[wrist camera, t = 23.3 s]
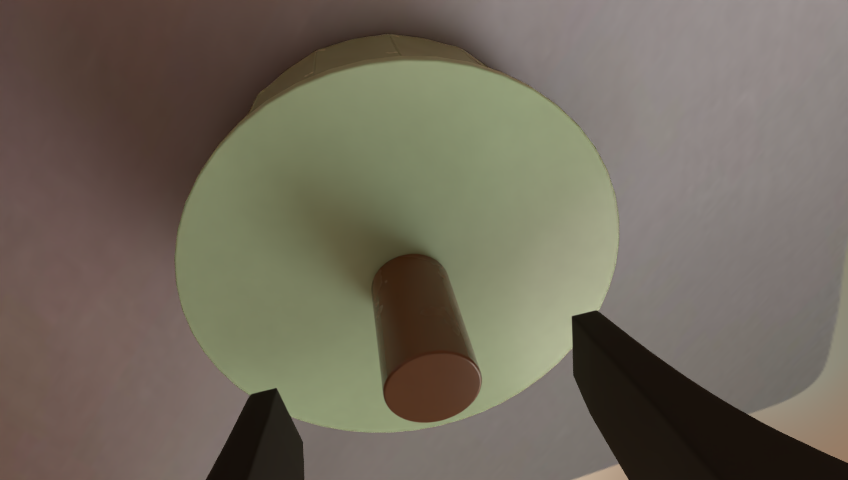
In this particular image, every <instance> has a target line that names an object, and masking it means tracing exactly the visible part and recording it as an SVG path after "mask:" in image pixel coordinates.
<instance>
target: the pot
mask: <svg viewBox="0 0 848 480" xmlns="http://www.w3.org/2000/svg"><path fill="white" fill-rule="evenodd" d="M394 56H436V57H442V58H448V59H455V60H461V61H467V62H471V63H475V64H478V65H481V66H484V67H487V66H486V65H485V64H483V63H482V62H480V61H479V60H477V59H476V58H474V57H473V56H472V55H470V54H469V53H467V52H466V51H465V50H463V49H462V48H459V47H457V46H452V45H447V44H444V43H440V42H436V41H432V40H429V39H425V38H419V37H411V36H403V35H395V34H383V35H377V36H369V37H363V38H357V39H351V40H348V41H345V42H341V43H338V44H335V45H331V46H328V47H326V48H323V49H318V50H316V51H314V52H313V53H311V54H310V55H309V56H307V57H305V58H304V59H302V60H301V61H299V62H298V63H296V64H295V65H293V66H292V67H290V68H289V69H287V70H286V71H285V72H284V73H283V74H281V75H280V76H279V77H278V78H277V79H276V80H275V81H273V82H272V83H271V84H270V85H269V86H268V87H266V88H265V89H264V90H262V91H261V92H260V93H259V95H257V97H256V98H255V100H254V102H253V104H252V106H251V108H250V110H249V112H248V114H247V116H248V115H249V114H250V113H251V112H253V111H254V110H255V109H256V108H258V107H259V106H260V105H261V104H263V103H264V102H265V101H266V100H268V99H270V98H271V97H273V96H275V95H277V94H278V93H280V92H282V91H283V90H285V89H287V88H289V87H290V86H292V85H294V84H295V83H297V82H299V81H302V80H304V79H307V78H309V77H312V76H314V75H317V74H319V73H321V72H324V71H326V70H329V69H332V68H336V67H339V66H343V65H347V64H351V63H355V62H359V61H363V60H368V59H377V58H385V57H394ZM487 68H488V67H487Z"/></svg>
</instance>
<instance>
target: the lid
mask: <svg viewBox="0 0 848 480" xmlns="http://www.w3.org/2000/svg"><path fill="white" fill-rule="evenodd" d="M618 246H619V215H618V209H617V203H616V197H615V192H614V189H613V186H612V183H611V180H610V177H609V174H608V171H607V169H606V167H605V165H604V163H603V161H602V159H601V157H600V155H599V154H598V152H597V150H596V148H595V146H594V145H593V144H592V142H591V141H590V140H589V138H588V137H587V136H586V135H585V133H584V132H583V131H582V129H581V128H580V127H579V125H578V124H577V123H575V122H574V121H573V120H572V119H571V118H570V117H569V116H568V115H567V114H566V113H565V112H564V111H563V110H562V109H561V108H560V107H559V106H557V105H556V104H555V103H554V102H552V101H551V100H550V99H548V98H547V97H545V96H544V95H542V94H541V93H539V92H538V91H536V90H535V89H533V88H532V87H531V86H529V85H527V84H525V83H523V82H521V81H519V80H517V79H515V78H513V77H511V76H509V75H507V74H504V73H502V72H500V71H497V70H494V69H491V68H487V67H484V66H481V65H478V64H475V63H471V62H467V61H461V60H455V59H448V58H442V57H436V56H394V57H385V58H377V59H368V60H363V61H359V62H355V63H351V64H347V65H343V66H339V67H336V68H332V69H329V70H326V71H324V72H321V73H319V74H317V75H314V76H312V77H309V78H307V79H304V80H302V81H299V82H297V83H295V84H294V85H292V86H290V87H289V88H287V89H285V90H283V91H282V92H280V93H278V94H277V95H275V96H273V97H271V98H270V99H268V100H266V101H265V102H264V103H263V104H261V105H260V106H259V107H258V108H256V109H255V110H254V111H253V112H251V113H250V114H249V115H248V116H246V117H245V118H244V119H243V120H241V121H240V122H239V123H238V124H237V125H236V126H235V128H234V129H233V130H232V131H231V132H230V133H229V134H228V135H227V136H226V137H225V138H224V139H223V140H222V141H221V142H220V144H219V145H218V146H217V147H216V149H215V150H214V152H213V153H212V155H211V156H210V158H209V159H208V161H207V162H206V164H205V165H204V167H203V168H202V169H201V171H200V173H199V175H198V177H197V179H196V181H195V183H194V185H193V188H192V190H191V192H190V194H189V196H188V198H187V200H186V202H185V205H184V209H183V212H182V216H181V220H180V223H179V227H178V230H177V239H176V248H175V274H176V285H177V289H178V294H179V298H180V302H181V306H182V310H183V312H184V315H185V317H186V319H187V322H188V324H189V326H190V329H191V331H192V333H193V335H194V336H195V338H196V340H197V341H198V343H199V344H200V346H201V348H202V349H203V351H204V353H205V354H206V355H207V356H208V357H209V358H210V360H211V361H212V362H213V363H214V364H215V366H216V367H217V368H218V369H219V370H220V371H221V372H222V373H223V374H224V375H225V376H226V377H227V378H228V379H229V380H231V381H232V382H233V383H234V384H235V385H236V386H237V387H239V388H240V389H241V390H243V391H244V392H246V393H247V394H249V395H251V394H253V393H258V392H262V391H266V390H270V389H274V388H277V390H278V392H279V394H280V396H281V398H282V400H283V402H284V404H285V406H286V408H287V410H288V412H289V415H290V416H291V417H293V418H296V419H298V420H301V421H305V422H308V423H312V424H316V425H319V426H323V427H329V428H334V429H340V430H345V431H357V432H400V431H411V430H419V429H424V428H429V427H435V426H440V425H443V424H447V423H451V422H454V421H458V420H461V419H464V418H467V417H470V416H472V415H475V414H478V413H480V412H483V411H485V410H487V409H489V408H492V407H494V406H496V405H498V404H500V403H502V402H504V401H506V400H508V399H509V398H511V397H513V396H514V395H516V394H518V393H520V392H521V391H523V390H525V389H526V388H527V387H529V386H530V385H531V384H533V383H534V382H536V381H537V380H538V379H540V378H541V377H543V376H544V375H545V374H546V373H547V372H548V371H549V370H551V369H552V368H553V367H554V366H555V365H556V364H558V363H559V362H560V361H561V360H562V359H563V358H564V356H565V355H566V354H567V353H568V352H569V351H570V350H571V349H572V348H573V344H572V316H574V315H578V314H582V313H587V312H591V311H595V310H597V311H598V310H599V309H600V307H601V305H602V302H603V300H604V298H605V296H606V293H607V291H608V289H609V286H610V283H611V279H612V276H613V272H614V269H615V265H616V260H617V253H618Z"/></svg>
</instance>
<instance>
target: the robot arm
mask: <svg viewBox="0 0 848 480" xmlns="http://www.w3.org/2000/svg"><path fill="white" fill-rule="evenodd" d="M572 344H573V375H574V378H575V380H576V382H577V385H578V387H579V389H580V392H581V394H582V396H583V399H584V401H585V403H586V405H587V408H588V410H589V412H590V414H591V416H592V418H593V419H594V421H595V423H596V425H597V426H598V428H599V430H600V432H601V433H602V435H603V437H604V438H605V440H606V442H607V444H608V445H609V447H610V449H611V450H612V452H613V454H614V456H615V457H616V459H617V461H618V462H619V464H620V466H621V467H622V469H623V471H624V473H625V474H626V476H627V477H628V479H629V480H848V463H846V462H844V461H842V460H840V459H837V458H835V457H833V456H830V455H828V454H826V453H824V452H821V451H819V450H817V449H815V448H813V447H811V446H809V445H807V444H805V443H803V442H800V441H798V440H796V439H794V438H792V437H790V436H788V435H786V434H783V433H782V432H779V431H778V430H776V429H774V428H772V427H770V426H768V425H766V424H764V423H762V422H760V421H758V420H756V419H755V418H753V417H751V416H749V415H748V414H746V413H744V412H742V411H740V410H739V409H737V408H735V407H733V406H732V405H730V404H728V403H727V402H725V401H723V400H722V399H720V398H718V397H717V396H715V395H713V394H712V393H710V392H709V391H707V390H706V389H704V388H702V387H701V386H699V385H698V384H696V383H695V382H693V381H692V380H690V379H689V378H687V377H686V376H684V375H683V374H681V373H680V372H678V371H677V370H675V369H674V368H673V367H671V366H670V365H668V364H667V363H666V362H664V361H663V360H661V359H660V358H658V357H657V356H656V355H654V354H653V353H652V352H650V351H649V350H648V349H646V348H645V347H643V346H642V345H641V344H640V343H638V342H637V341H636V340H634V339H633V338H632V337H630V336H629V335H628V334H627V333H625V332H624V331H623V330H621V329H620V328H619V327H618V326H616V325H615V324H614V323H613V322H611V321H610V320H609V319H607V318H606V317H605V316H604V315H602V314H601V313H600V312H598V311H597V310H595V311H591V312H587V313H582V314H578V315H574V316H572ZM206 480H304V458H303V442H302V439H301V437H300V435H299V433H298V431H297V429H296V427H295V425H294V423H293V421H292V419H291V417H290V415H289V412H288V410H287V408H286V406H285V404H284V402H283V400H282V398H281V396H280V394H279V392H278V390H277V388H274V389H270V390H266V391H262V392H258V393H253V394H251V395H250V397H249V398H248V400H247V402H246V404H245V406H244V408H243V410H242V412H241V414H240V416H239V418H238V420H237V422H236V424H235V426H234V428H233V430H232V432H231V434H230V436H229V438H228V440H227V441H226V443H225V445H224V447H223V449H222V451H221V453H220V455H219V457H218V458H217V460H216V462H215V464H214V466H213V468H212V469H211V471H210V473H209V475H208V477H207V479H206Z"/></svg>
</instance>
